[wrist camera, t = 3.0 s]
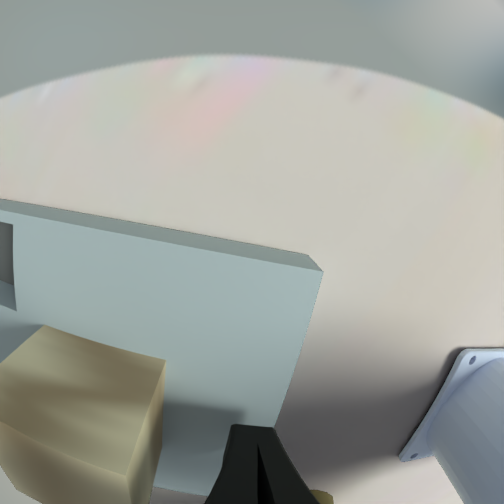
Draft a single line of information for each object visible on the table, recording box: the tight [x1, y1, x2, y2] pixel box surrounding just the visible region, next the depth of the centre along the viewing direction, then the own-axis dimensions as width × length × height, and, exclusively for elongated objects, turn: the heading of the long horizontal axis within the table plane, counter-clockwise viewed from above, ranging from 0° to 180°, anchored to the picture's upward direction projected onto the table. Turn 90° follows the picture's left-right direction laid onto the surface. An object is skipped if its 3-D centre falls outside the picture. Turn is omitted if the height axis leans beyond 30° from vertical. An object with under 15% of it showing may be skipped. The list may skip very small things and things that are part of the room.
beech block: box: [0, 325, 166, 504], centre depth 7 cm, size 5×5×5 cm
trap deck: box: [0, 199, 323, 496], centre depth 8 cm, size 19×12×4 cm, turn 79°
